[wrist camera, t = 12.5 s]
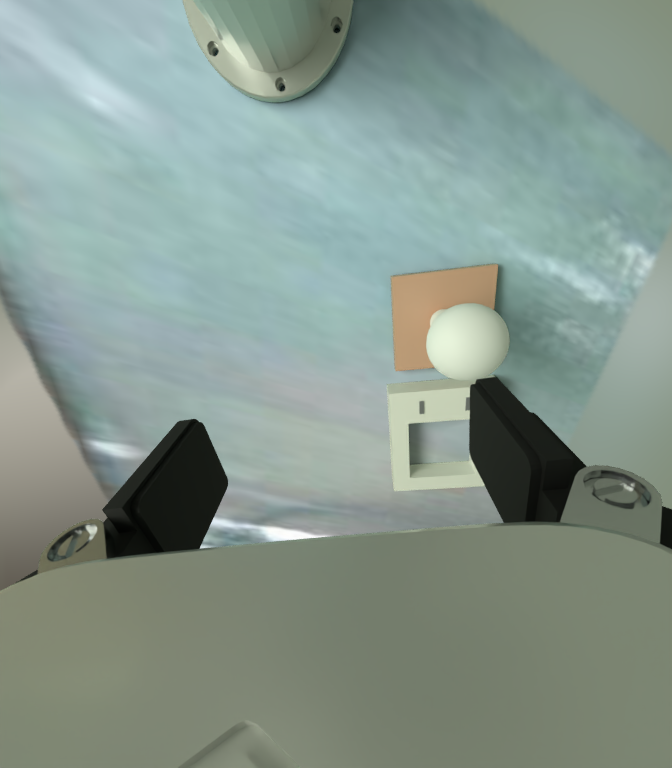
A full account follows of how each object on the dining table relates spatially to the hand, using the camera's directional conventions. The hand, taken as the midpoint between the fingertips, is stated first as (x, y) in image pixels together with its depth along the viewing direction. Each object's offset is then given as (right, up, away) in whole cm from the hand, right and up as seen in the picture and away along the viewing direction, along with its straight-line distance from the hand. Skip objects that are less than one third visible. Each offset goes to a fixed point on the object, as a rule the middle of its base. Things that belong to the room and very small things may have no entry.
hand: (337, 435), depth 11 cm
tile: (+11, +9, +22) cm, 26 cm away
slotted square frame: (+13, -4, +28) cm, 31 cm away
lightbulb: (+11, +8, +22) cm, 26 cm away
